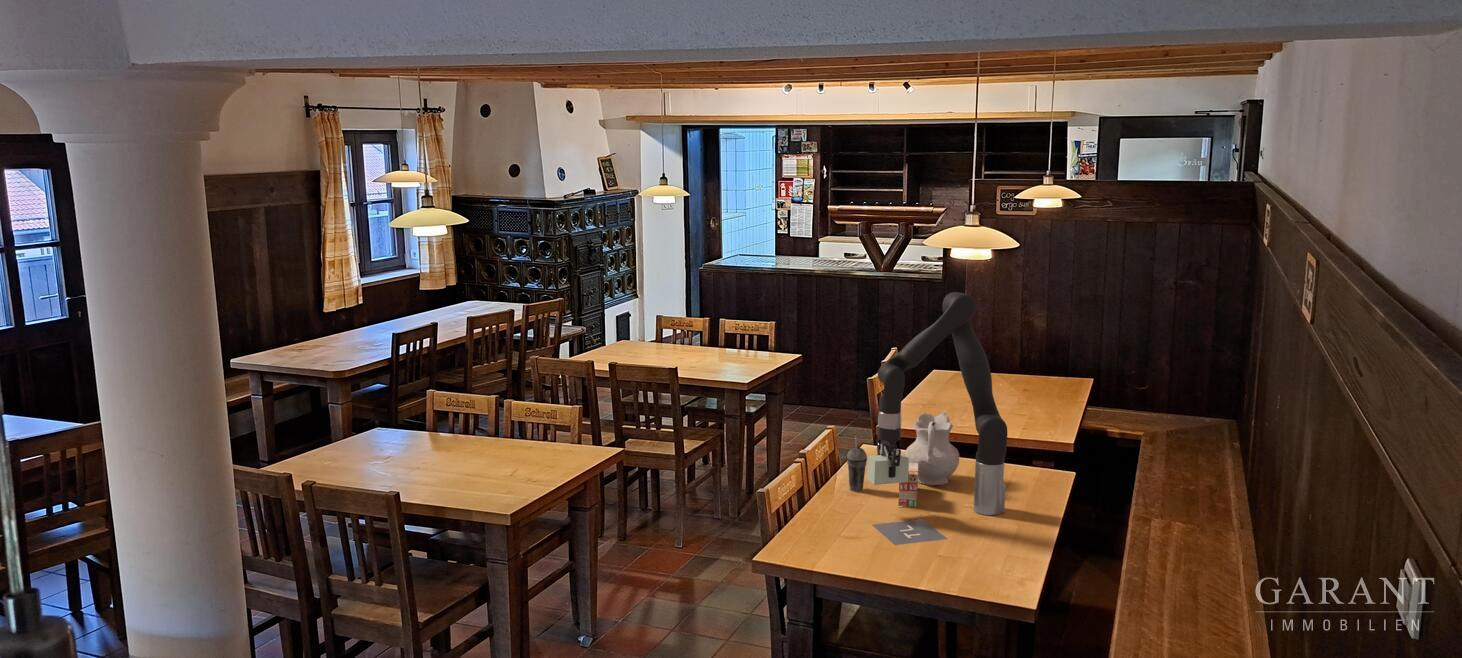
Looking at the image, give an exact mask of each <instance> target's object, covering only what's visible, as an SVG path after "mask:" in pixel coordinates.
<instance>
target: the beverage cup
mask: <svg viewBox="0 0 1462 658" xmlns="http://www.w3.org/2000/svg"><path fill="white" fill-rule="evenodd" d="M846 460H847V466H848V469H847V470H848V479H849V480H848V484H849V485H848V486H849V490H850V492H853V491H854V492H855V493H858V492H859V491H860V492H862V491H863V487H864V482H865V473H866V467H867V462H868V455H867V453H866V451H865V450H864V448H862V447H859V446H858V436H857V435H855V446H854V447H852V448H851V449H849V450H848V453H847V455H846Z"/></svg>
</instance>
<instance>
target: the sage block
mask: <svg viewBox="0 0 1462 658" xmlns="http://www.w3.org/2000/svg"><path fill="white" fill-rule="evenodd" d="M889 457H892V456H889ZM891 461H892V460H891ZM866 468H867V469H866V472H867V473H866V480H867V481H868V482H869V483H871V484H873V485H874V486H878V485H880V486H881V485H889V484H899V483H902V482H908V470H909V458H907V457H906V456H905V454H903V453H901V456H900V465H899V466H896V476H895V477H894V478H890V477H889V460H887V459H886V455H882V456H881V455H867V462H866Z"/></svg>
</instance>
